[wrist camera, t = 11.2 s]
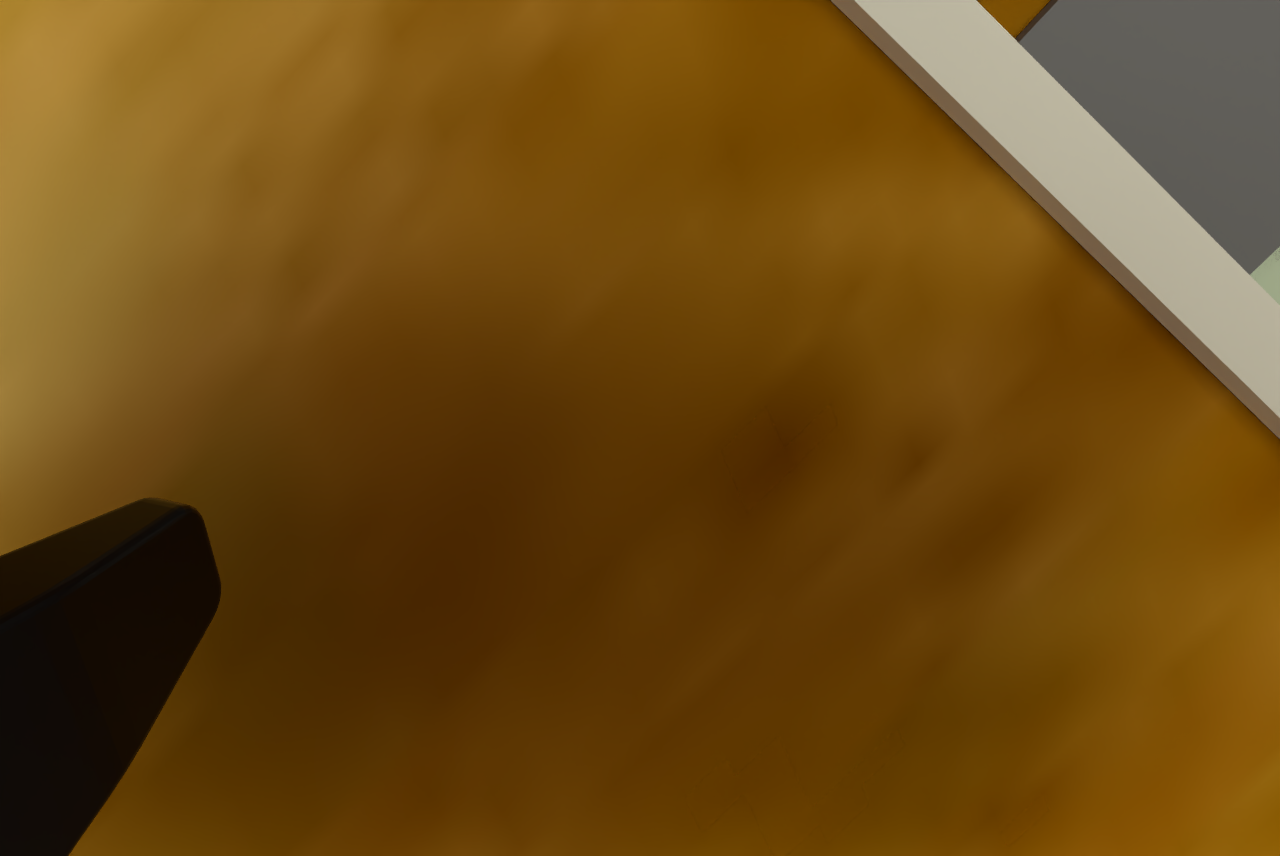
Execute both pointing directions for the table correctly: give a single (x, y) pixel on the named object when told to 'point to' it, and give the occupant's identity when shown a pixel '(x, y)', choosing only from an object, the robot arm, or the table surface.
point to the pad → (1269, 275)
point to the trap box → (1130, 147)
